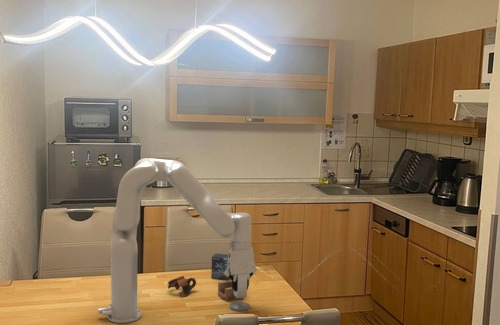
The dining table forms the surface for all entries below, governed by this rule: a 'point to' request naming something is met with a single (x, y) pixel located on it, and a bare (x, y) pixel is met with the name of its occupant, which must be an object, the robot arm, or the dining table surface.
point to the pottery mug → (182, 285)
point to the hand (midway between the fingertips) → (240, 288)
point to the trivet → (239, 306)
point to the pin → (241, 286)
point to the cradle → (226, 291)
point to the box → (219, 266)
